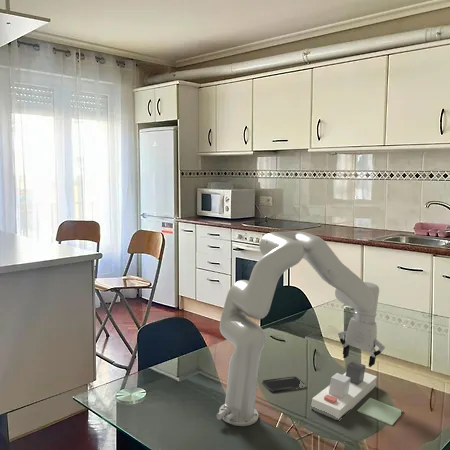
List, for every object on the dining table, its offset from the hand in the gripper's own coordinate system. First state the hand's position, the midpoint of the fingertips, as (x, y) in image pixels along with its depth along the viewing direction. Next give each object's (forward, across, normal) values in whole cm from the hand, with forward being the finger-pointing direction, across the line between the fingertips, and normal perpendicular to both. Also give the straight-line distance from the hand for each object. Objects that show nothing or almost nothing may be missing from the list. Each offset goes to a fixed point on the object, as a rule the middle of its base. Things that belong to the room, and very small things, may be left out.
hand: (358, 361), depth 184 cm
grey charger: (+9, 0, -15) cm, 17 cm away
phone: (+12, -20, -17) cm, 29 cm away
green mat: (+11, +13, -8) cm, 19 cm away
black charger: (+10, 0, -1) cm, 10 cm away
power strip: (+11, 0, -8) cm, 14 cm away
